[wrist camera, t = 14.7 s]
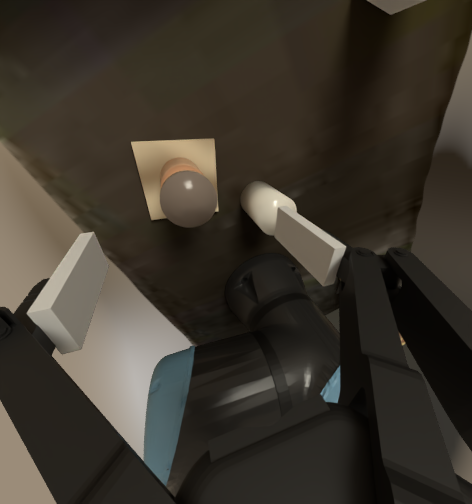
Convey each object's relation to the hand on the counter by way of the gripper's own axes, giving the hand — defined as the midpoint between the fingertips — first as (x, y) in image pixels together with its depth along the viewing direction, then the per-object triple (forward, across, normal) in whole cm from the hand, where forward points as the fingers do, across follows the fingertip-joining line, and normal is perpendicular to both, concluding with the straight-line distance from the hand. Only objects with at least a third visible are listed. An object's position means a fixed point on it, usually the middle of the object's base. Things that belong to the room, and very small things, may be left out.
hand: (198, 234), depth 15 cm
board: (+14, 0, -1) cm, 14 cm away
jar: (+13, 0, -1) cm, 13 cm away
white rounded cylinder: (+14, -10, +3) cm, 18 cm away
